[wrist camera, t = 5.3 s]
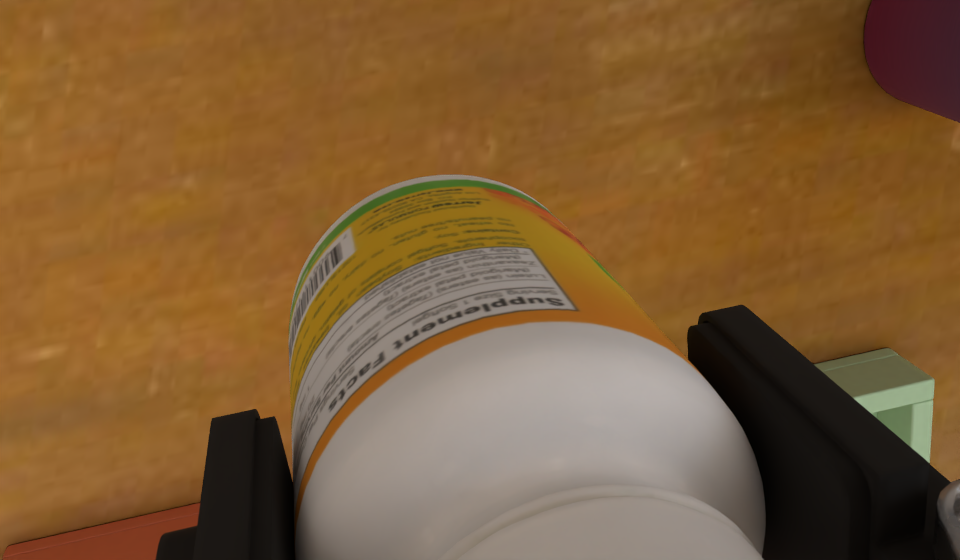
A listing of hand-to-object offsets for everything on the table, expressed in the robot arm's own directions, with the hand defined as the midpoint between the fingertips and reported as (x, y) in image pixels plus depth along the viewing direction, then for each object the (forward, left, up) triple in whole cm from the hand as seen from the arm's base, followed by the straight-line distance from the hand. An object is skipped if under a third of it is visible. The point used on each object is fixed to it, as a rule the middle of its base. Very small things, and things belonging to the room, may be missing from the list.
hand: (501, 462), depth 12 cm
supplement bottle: (0, 0, -5) cm, 5 cm away
